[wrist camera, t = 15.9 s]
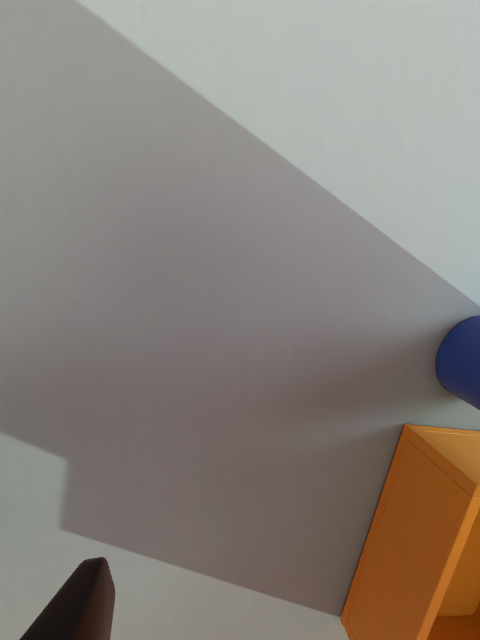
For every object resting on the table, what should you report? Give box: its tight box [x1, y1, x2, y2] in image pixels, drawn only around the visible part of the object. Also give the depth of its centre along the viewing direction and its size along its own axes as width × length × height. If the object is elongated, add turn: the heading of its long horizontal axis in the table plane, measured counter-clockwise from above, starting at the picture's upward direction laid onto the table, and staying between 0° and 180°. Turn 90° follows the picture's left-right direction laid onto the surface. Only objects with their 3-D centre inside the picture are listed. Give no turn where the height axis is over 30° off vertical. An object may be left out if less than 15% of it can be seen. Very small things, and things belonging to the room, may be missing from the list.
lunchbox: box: [341, 424, 480, 640], centre depth 24 cm, size 11×15×6 cm
